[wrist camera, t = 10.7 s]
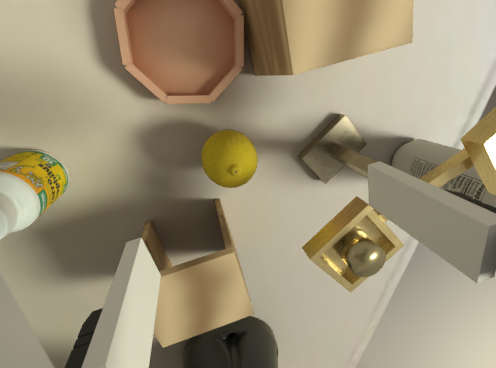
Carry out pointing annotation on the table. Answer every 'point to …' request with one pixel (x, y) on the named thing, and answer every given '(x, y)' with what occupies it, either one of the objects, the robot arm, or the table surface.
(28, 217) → the supplement bottle
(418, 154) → the energy drink can
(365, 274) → the balance
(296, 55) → the oak cover
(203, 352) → the robot arm
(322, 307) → the table surface
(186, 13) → the saucer
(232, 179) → the lemon
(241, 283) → the oak cover
